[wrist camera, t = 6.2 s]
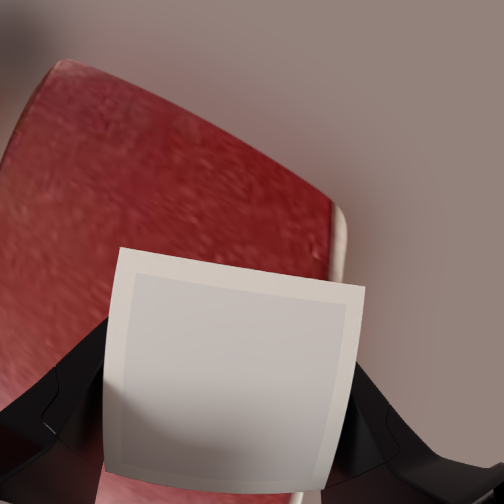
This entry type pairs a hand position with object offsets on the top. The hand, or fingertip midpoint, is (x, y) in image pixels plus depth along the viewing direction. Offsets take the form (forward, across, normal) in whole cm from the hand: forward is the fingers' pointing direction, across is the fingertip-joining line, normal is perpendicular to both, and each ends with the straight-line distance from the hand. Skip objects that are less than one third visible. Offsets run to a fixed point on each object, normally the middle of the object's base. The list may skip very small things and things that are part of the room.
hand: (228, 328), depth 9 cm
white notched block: (+4, 0, +6) cm, 7 cm away
